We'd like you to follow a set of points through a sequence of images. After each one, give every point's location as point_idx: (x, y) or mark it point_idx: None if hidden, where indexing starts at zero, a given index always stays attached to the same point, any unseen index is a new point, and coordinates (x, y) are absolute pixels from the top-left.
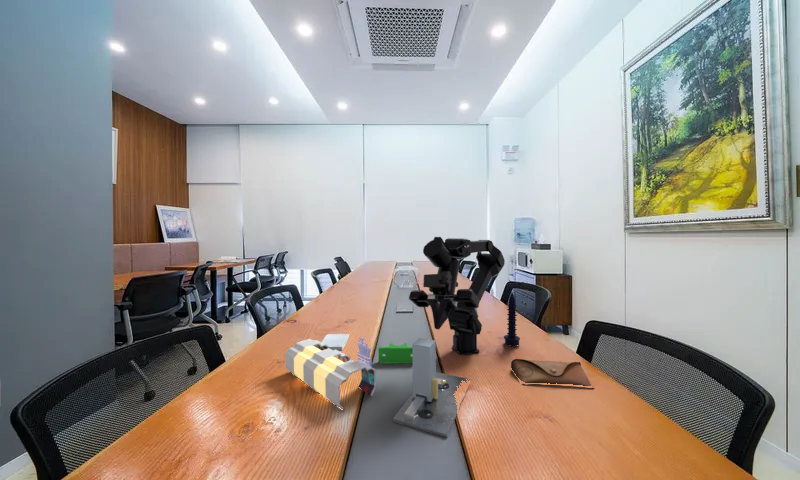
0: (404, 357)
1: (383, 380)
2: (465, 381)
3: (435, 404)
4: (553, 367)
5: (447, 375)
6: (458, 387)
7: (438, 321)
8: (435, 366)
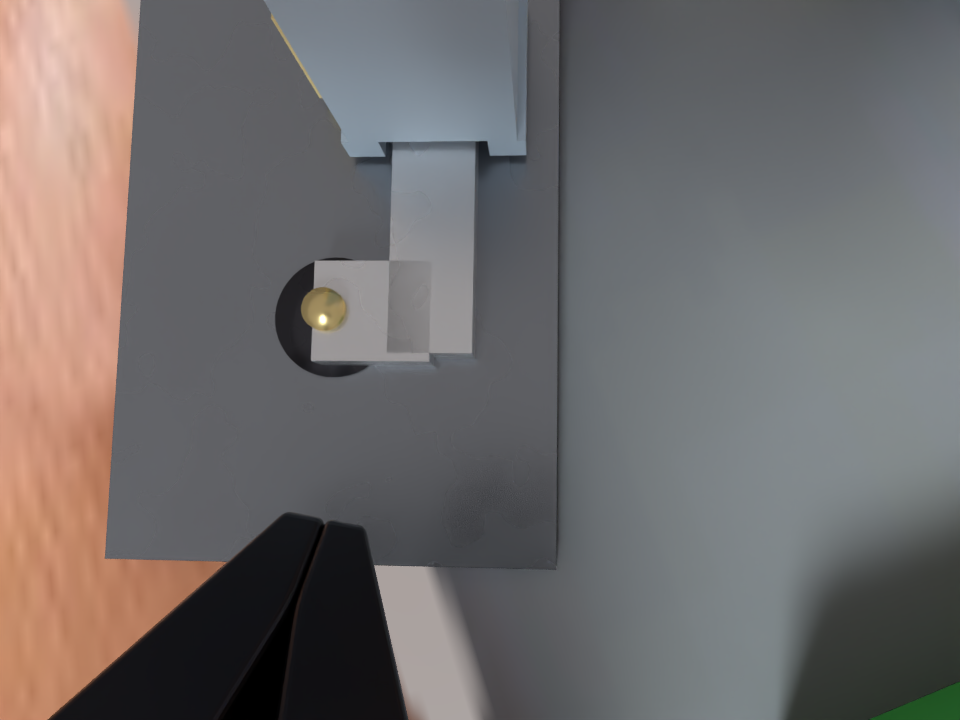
0: (954, 718)
1: (939, 227)
2: (149, 489)
3: None
4: None
5: None
6: (192, 348)
7: (220, 601)
8: (289, 36)
